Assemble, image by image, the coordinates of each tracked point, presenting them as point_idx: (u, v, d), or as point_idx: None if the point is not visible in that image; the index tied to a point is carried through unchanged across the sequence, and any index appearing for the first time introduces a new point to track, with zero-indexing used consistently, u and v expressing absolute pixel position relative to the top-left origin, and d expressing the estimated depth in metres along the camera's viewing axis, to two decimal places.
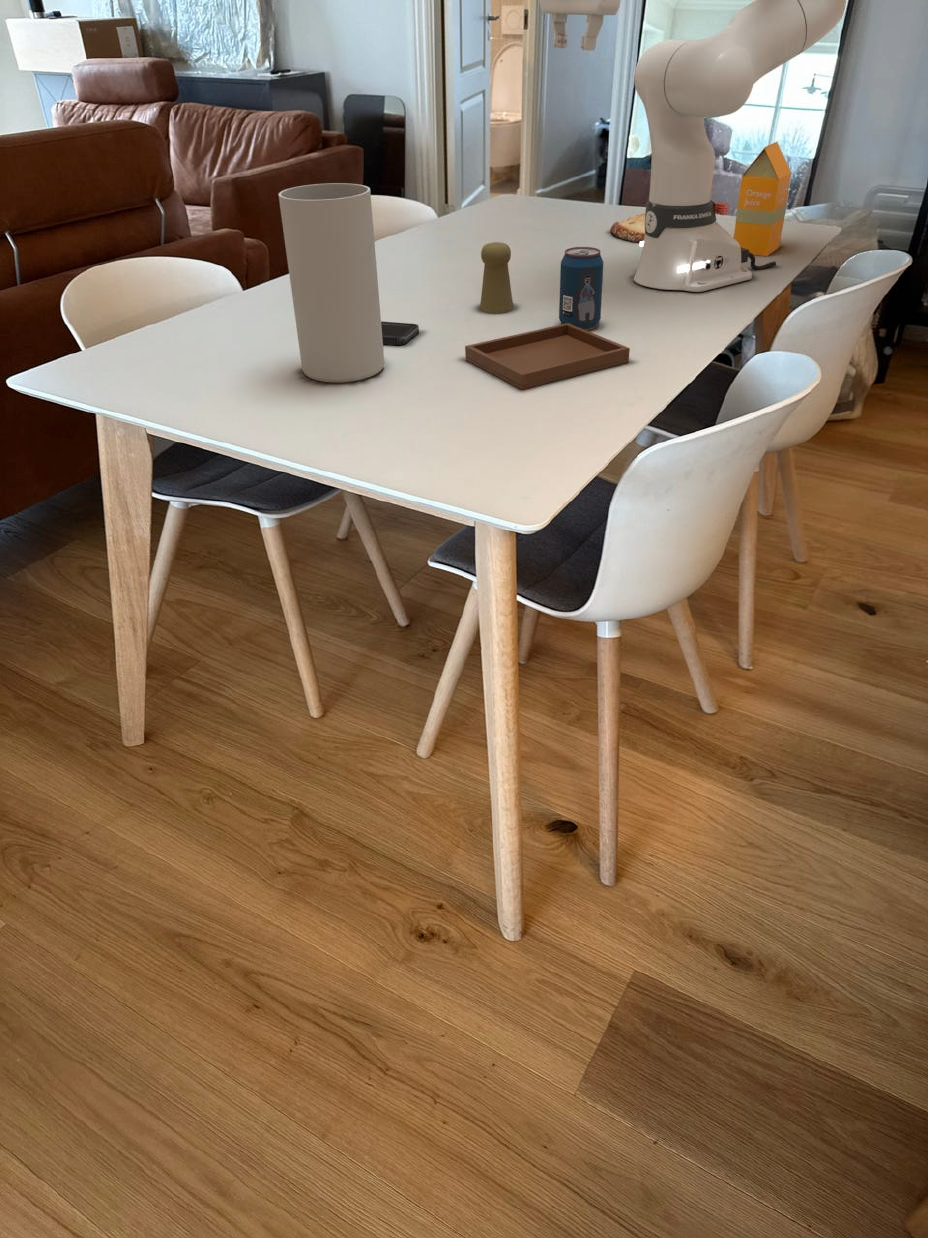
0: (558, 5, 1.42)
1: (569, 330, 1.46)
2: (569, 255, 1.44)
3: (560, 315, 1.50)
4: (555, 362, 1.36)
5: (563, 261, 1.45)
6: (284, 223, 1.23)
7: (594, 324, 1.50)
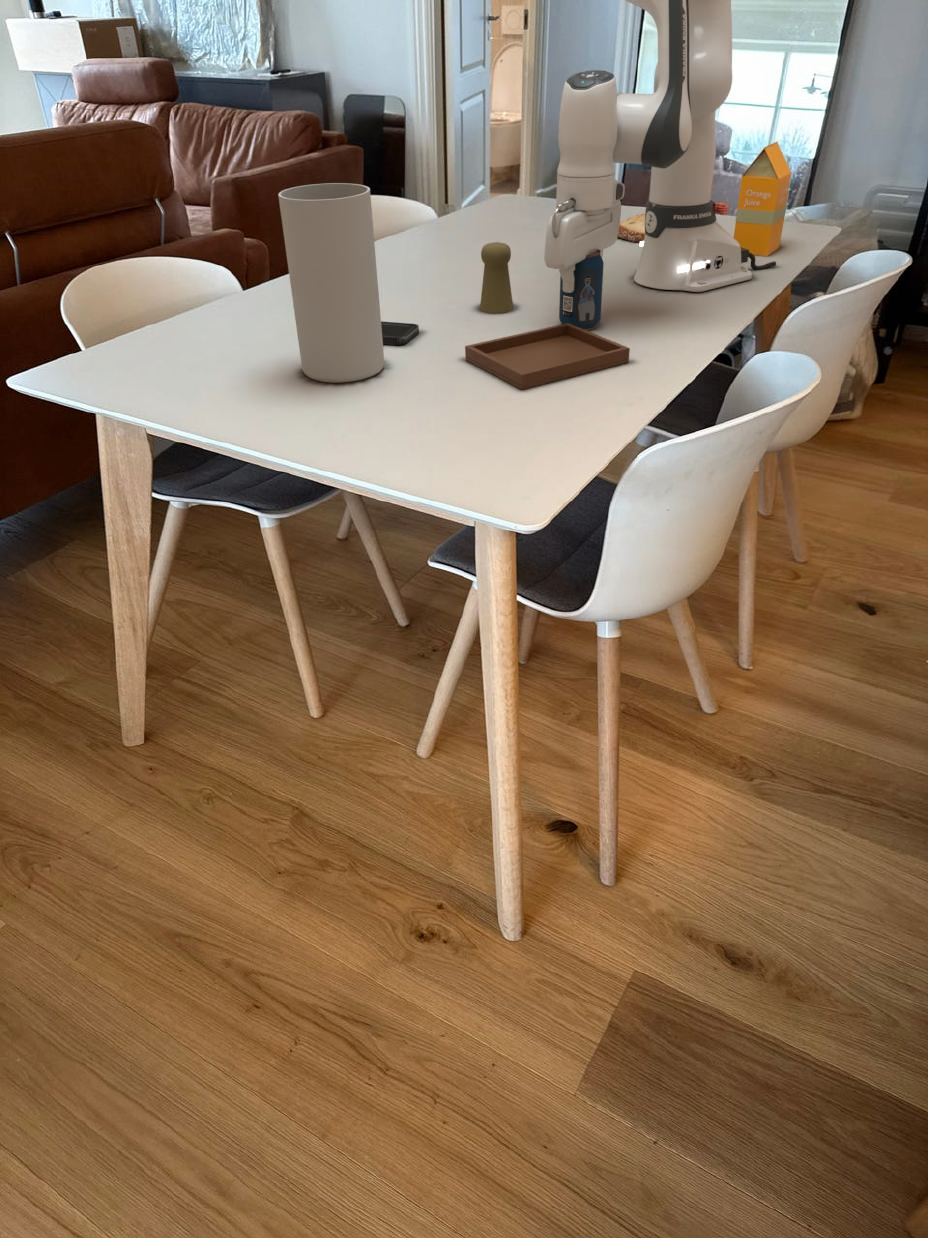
0: None
1: (569, 330, 1.46)
2: None
3: (560, 315, 1.50)
4: (555, 362, 1.36)
5: None
6: (284, 223, 1.23)
7: (594, 324, 1.50)
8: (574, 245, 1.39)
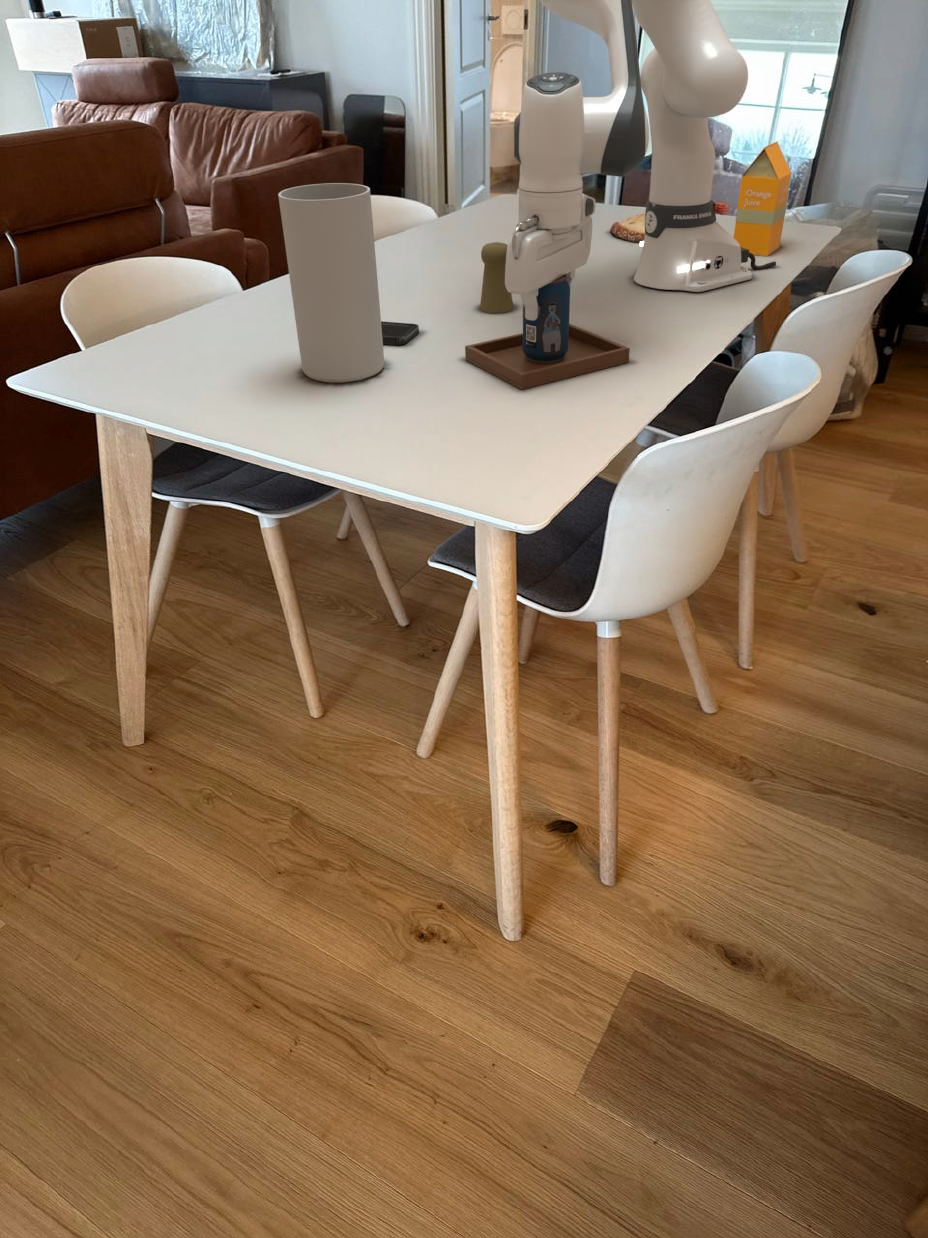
0: None
1: (569, 330, 1.46)
2: None
3: (523, 346, 1.36)
4: (555, 362, 1.36)
5: None
6: (284, 223, 1.23)
7: (561, 356, 1.36)
8: (538, 267, 1.24)
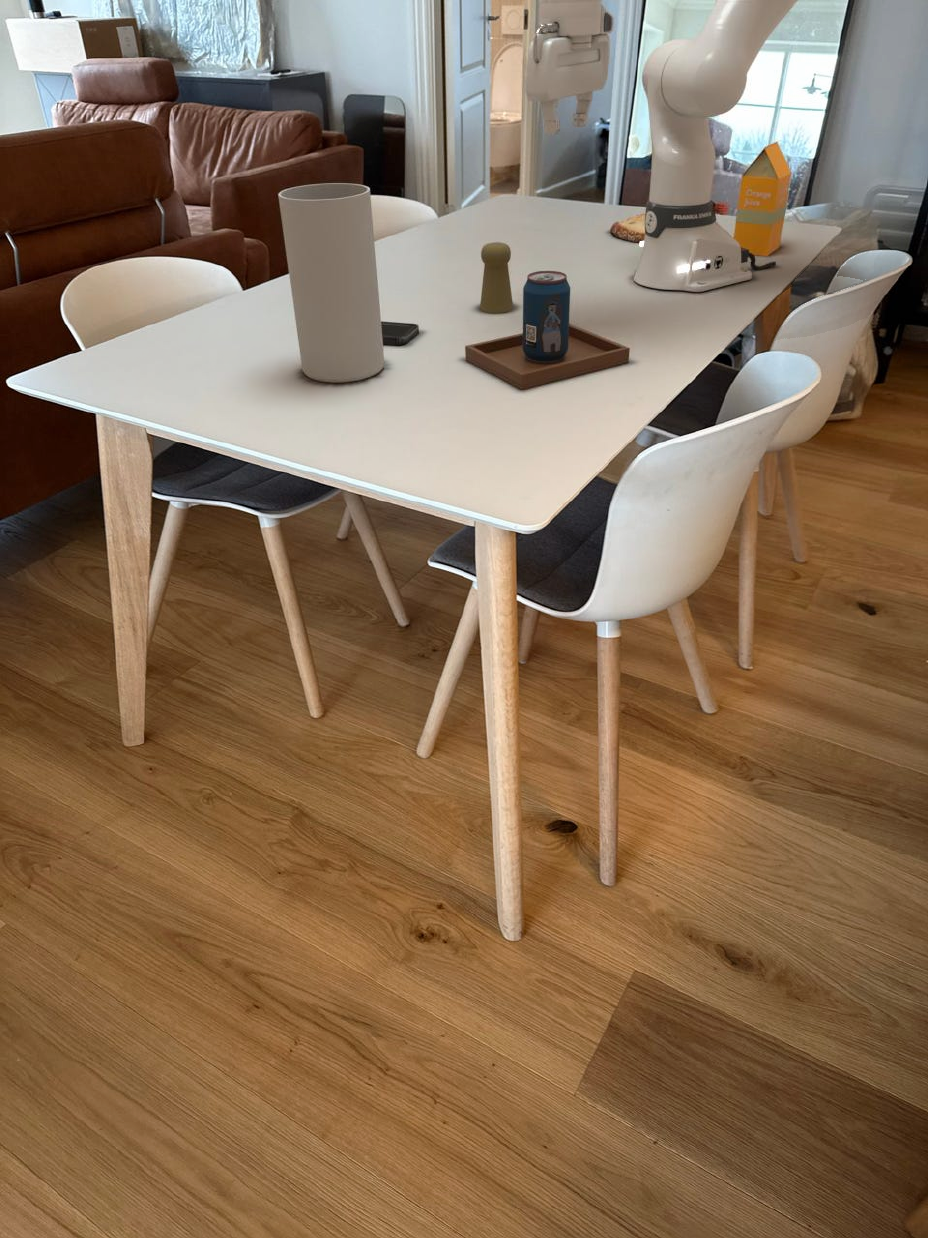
0: None
1: (569, 330, 1.46)
2: (532, 281, 1.30)
3: (523, 346, 1.36)
4: (555, 362, 1.36)
5: (526, 287, 1.31)
6: (284, 223, 1.23)
7: (561, 356, 1.36)
8: (558, 74, 1.28)
